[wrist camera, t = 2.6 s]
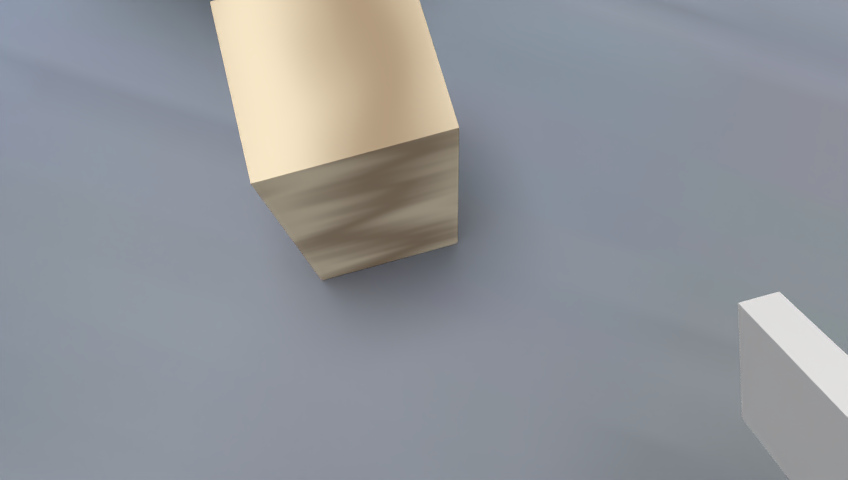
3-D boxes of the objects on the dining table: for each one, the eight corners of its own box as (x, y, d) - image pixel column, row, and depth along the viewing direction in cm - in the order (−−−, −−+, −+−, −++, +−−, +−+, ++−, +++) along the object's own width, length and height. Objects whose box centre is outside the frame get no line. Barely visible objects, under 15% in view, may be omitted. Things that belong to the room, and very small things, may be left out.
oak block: (321, 280, 33) (250, 183, 22) (291, 154, 35) (209, 1, 23) (457, 243, 33) (459, 127, 22) (420, 119, 35) (403, -49, 23)
